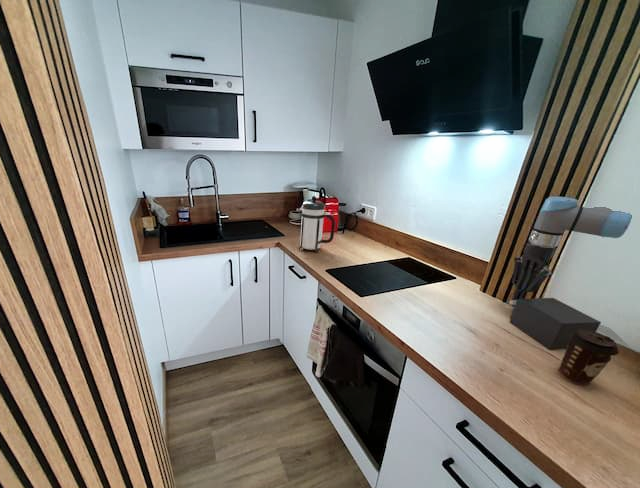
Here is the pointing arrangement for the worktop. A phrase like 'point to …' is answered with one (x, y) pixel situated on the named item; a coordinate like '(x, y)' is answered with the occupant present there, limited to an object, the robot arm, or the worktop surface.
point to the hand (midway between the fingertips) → (515, 304)
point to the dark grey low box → (550, 321)
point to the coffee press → (314, 225)
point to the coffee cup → (586, 356)
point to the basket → (514, 302)
